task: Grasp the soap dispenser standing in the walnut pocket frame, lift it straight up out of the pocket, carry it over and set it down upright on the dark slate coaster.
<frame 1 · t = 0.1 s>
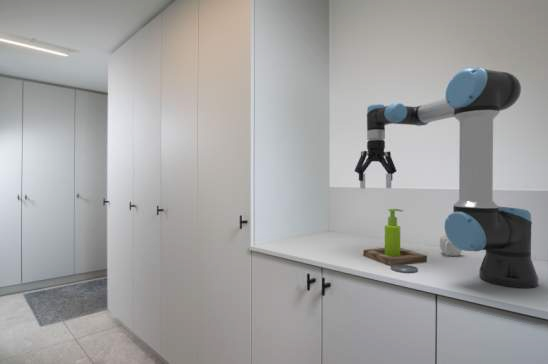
hand: (375, 188, 145), 28 cm above the table, fingers open, 13 cm apart
pocket frame: (393, 258, 132), on the table
soap dispenser: (393, 259, 132), resting in pocket frame
mug: (449, 256, 137), on the table
coaster: (404, 269, 116), on the table
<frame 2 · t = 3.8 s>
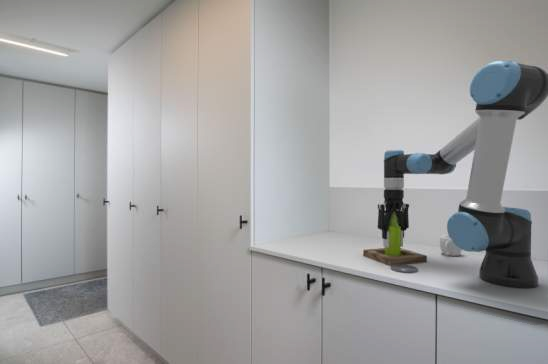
hand: (393, 246, 131), 5 cm above the table, fingers closed on soap dispenser, 6 cm apart
soap dispenser: (393, 259, 132), resting in pocket frame, touching gripper
everything else where it was.
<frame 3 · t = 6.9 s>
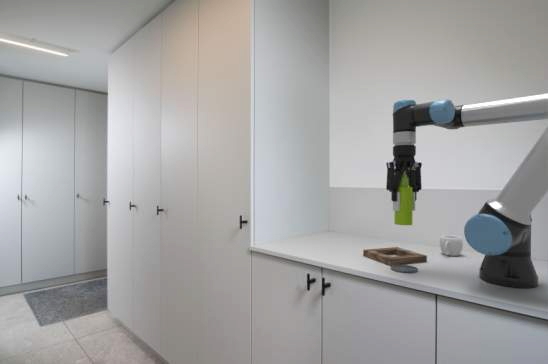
hand: (404, 210, 116), 21 cm above the table, fingers closed on soap dispenser, 6 cm apart
soap dispenser: (404, 224, 116), point 16 cm above the table, touching gripper
everything else where it was.
when the fingers open (7 cm above the table, at t = 9.9 s): soap dispenser drops 2 cm, resting on coaster.
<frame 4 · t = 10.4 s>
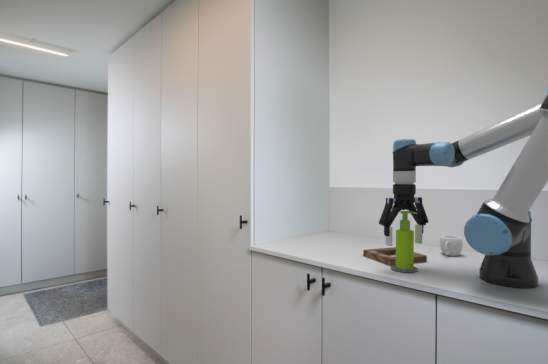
hand: (404, 244, 116), 9 cm above the table, fingers open, 12 cm apart
soap dispenser: (405, 268, 116), resting on coaster
everything else where it was.
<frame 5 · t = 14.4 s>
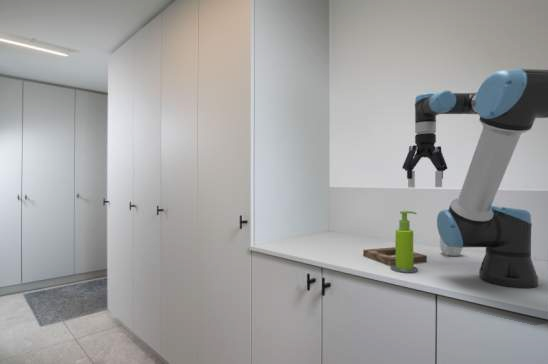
hand: (425, 187, 130), 29 cm above the table, fingers open, 13 cm apart
nothing on the table moved.
at the end: soap dispenser 0.7 cm from the coaster (horizontally); soap dispenser tilted 0°; soap dispenser resting on coaster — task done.
